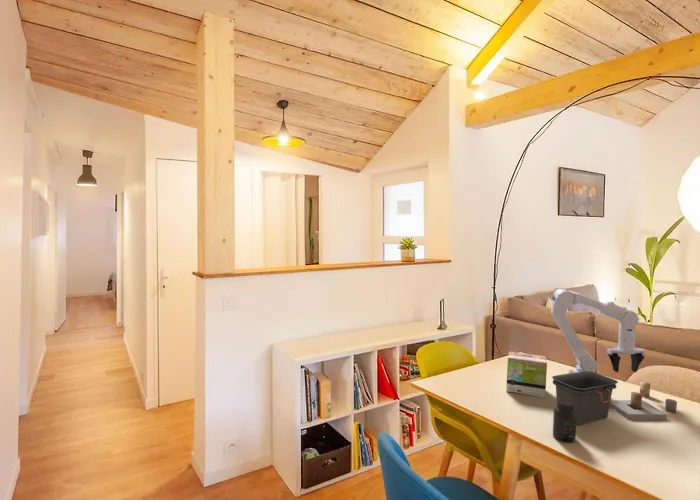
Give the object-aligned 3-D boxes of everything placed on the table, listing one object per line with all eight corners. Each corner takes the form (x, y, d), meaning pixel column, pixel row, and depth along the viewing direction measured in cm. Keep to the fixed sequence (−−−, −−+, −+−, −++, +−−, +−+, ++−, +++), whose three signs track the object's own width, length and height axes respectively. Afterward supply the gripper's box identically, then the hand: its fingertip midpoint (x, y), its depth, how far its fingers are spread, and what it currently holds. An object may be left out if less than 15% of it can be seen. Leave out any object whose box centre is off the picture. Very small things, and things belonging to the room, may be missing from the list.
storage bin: (586, 405, 166) (588, 369, 165) (625, 422, 151) (627, 383, 150) (545, 414, 157) (547, 376, 156) (583, 433, 143) (585, 392, 142)
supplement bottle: (548, 433, 143) (549, 398, 142) (567, 432, 144) (569, 397, 143) (560, 443, 136) (561, 407, 136) (580, 442, 137) (582, 406, 136)
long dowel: (633, 413, 158) (634, 395, 158) (628, 409, 162) (629, 391, 161) (643, 414, 158) (644, 395, 157) (637, 410, 161) (638, 392, 161)
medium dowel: (643, 397, 173) (644, 384, 173) (637, 394, 176) (638, 381, 176) (651, 397, 173) (652, 384, 173) (645, 394, 176) (646, 381, 176)
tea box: (506, 392, 177) (507, 357, 176) (506, 383, 186) (508, 350, 185) (545, 398, 172) (547, 362, 171) (544, 389, 181) (546, 355, 180)
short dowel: (669, 413, 159) (670, 402, 159) (662, 409, 162) (663, 398, 162) (678, 413, 159) (679, 402, 159) (671, 409, 163) (672, 398, 162)
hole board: (627, 419, 153) (628, 414, 153) (607, 405, 165) (607, 400, 165) (666, 419, 154) (666, 414, 154) (643, 405, 166) (643, 400, 166)
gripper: (615, 341, 170) (613, 374, 171) (651, 341, 170) (649, 374, 171) (604, 336, 177) (602, 368, 178) (639, 336, 177) (637, 368, 178)
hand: (624, 371), depth 175 cm, fingers open, 7 cm apart
